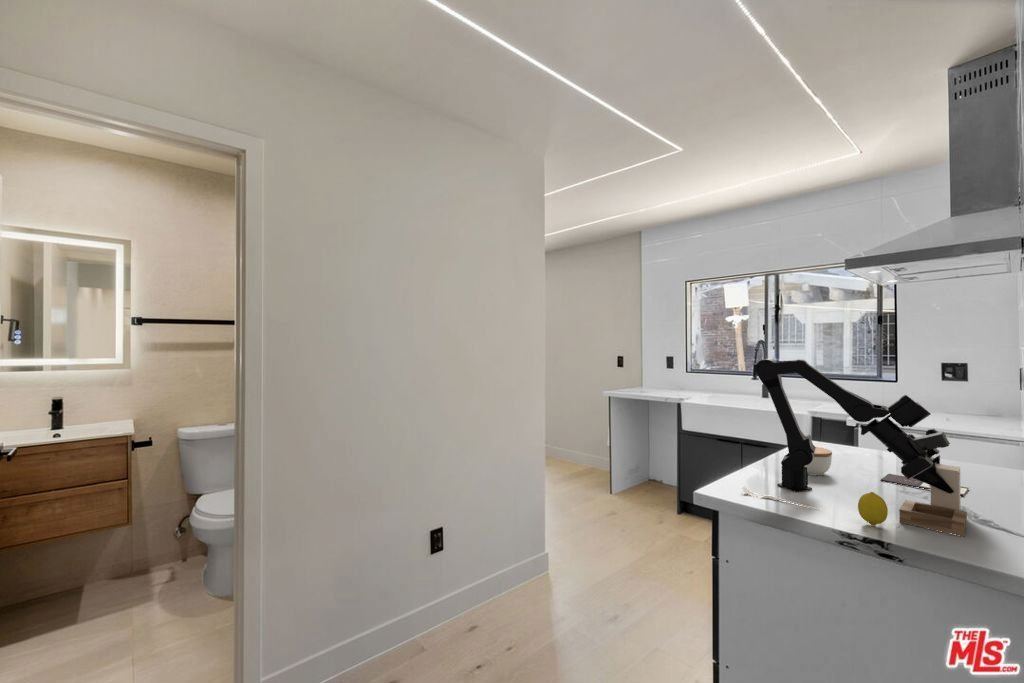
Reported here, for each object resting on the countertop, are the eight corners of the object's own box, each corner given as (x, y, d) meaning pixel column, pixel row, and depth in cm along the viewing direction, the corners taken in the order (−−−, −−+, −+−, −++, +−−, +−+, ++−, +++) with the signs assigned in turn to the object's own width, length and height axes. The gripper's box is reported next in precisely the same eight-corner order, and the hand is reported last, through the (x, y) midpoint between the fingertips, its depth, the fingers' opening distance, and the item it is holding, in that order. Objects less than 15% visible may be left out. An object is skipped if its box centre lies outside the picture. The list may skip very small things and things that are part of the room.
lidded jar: (785, 471, 150) (785, 443, 149) (806, 466, 154) (805, 439, 154) (819, 480, 140) (818, 450, 140) (839, 475, 144) (839, 446, 144)
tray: (964, 537, 100) (964, 522, 100) (899, 522, 108) (899, 509, 108) (967, 525, 106) (966, 511, 106) (905, 512, 114) (905, 499, 114)
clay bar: (959, 520, 108) (958, 471, 108) (930, 514, 112) (930, 467, 112) (960, 515, 111) (960, 467, 111) (933, 509, 115) (932, 463, 115)
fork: (822, 515, 115) (823, 508, 115) (740, 494, 129) (740, 488, 129) (825, 511, 117) (826, 504, 117) (744, 492, 131) (744, 485, 131)
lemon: (879, 532, 103) (879, 497, 103) (852, 523, 108) (852, 490, 108) (893, 527, 105) (892, 493, 105) (866, 519, 110) (866, 486, 110)
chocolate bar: (888, 473, 143) (968, 487, 129) (888, 476, 143) (968, 491, 129) (880, 479, 138) (962, 495, 123) (880, 482, 138) (962, 498, 123)
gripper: (918, 425, 108) (985, 480, 100) (927, 415, 121) (987, 463, 113) (877, 451, 114) (937, 506, 106) (890, 439, 127) (944, 487, 118)
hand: (953, 489), depth 111 cm, fingers closed on clay bar, 5 cm apart
